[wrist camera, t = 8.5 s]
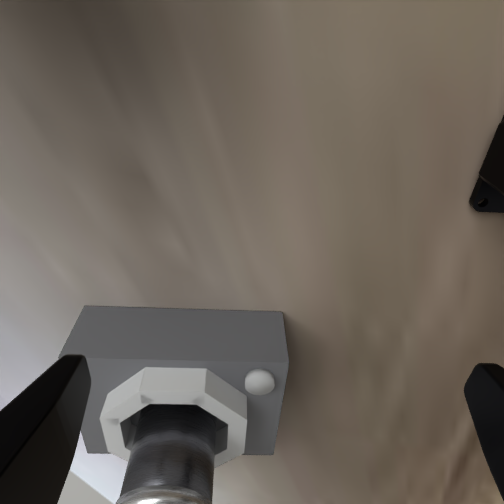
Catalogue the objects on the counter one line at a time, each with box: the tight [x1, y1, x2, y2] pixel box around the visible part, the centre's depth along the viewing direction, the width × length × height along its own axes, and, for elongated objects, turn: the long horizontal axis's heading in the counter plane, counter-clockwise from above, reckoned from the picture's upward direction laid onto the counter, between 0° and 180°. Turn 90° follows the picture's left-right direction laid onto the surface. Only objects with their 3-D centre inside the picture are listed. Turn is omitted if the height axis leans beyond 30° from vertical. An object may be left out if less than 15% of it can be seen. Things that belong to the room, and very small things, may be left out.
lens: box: [116, 404, 217, 504], centre depth 20 cm, size 5×5×7 cm
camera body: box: [58, 306, 289, 468], centre depth 24 cm, size 12×9×6 cm
